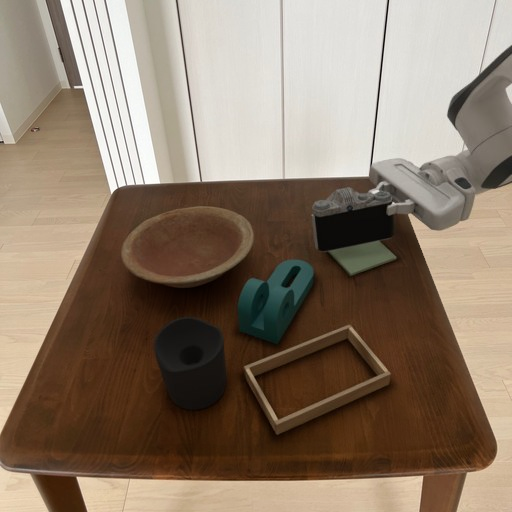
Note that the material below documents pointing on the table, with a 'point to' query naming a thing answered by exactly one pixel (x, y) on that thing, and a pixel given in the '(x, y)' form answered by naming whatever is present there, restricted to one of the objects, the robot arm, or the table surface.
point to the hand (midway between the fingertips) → (377, 203)
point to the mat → (362, 257)
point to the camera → (351, 219)
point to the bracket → (274, 300)
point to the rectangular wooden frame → (326, 404)
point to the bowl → (187, 246)
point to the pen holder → (191, 362)
